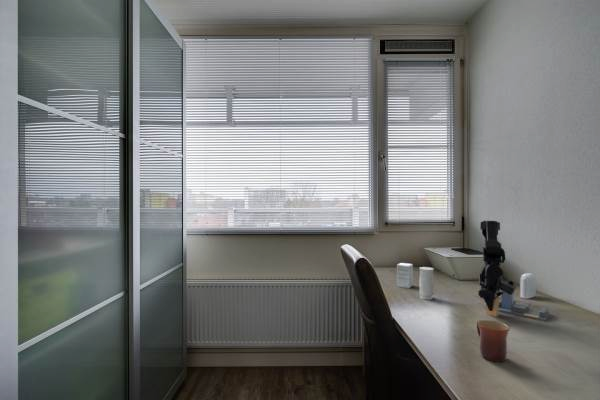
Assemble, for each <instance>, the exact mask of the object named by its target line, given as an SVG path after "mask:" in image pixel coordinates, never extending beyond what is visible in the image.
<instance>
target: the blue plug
mask: <svg viewBox="0 0 600 400" xmlns="http://www.w3.org/2000/svg"><path fill="white" fill-rule="evenodd" d="M500 292H503V294H502V295H500V296H501V298H500V299H501V308H504V309H509V310H512V306H513V305H514V304H515V303H514V301H515V300H514V299H515V292H514V293H513V294H512V295H509V294H507V293H506V292H504V291H502V290H500Z"/></svg>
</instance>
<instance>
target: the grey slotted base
mask: <svg viewBox="0 0 600 400" xmlns="http://www.w3.org/2000/svg"><path fill="white" fill-rule="evenodd" d="M499 313H504V314H508V315H513V316H517V317H522V318H526V319H532V320H536V321H540V322H547V320H548V319H549V318H550V316H551V312H549V307H547V306H543V307H542V309H540V310H538V309H532V308H530V303H527V302H526V303H525V302H521V301H517V302H515V303H514V305H513V306H512V310H509V309H504V308H501V298H499Z"/></svg>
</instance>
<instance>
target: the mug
mask: <svg viewBox="0 0 600 400" xmlns="http://www.w3.org/2000/svg"><path fill="white" fill-rule="evenodd" d="M476 331H477V334H478V337H479V350H480V355H481V356H482V357H483V358H484V359H487V360H488V361H491V360H492V361H491V362H496V361H501V362H503V361H505V360H506V359H507V355H508V344H507V343H508V334H509V331H510V326H508V324H505V323H503V322H500V321H496V320H490V319H489V320H487V319H485V320H484V319H483V320H482V319H479V320H477V323H476Z"/></svg>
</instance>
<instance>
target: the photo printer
mask: <svg viewBox="0 0 600 400" xmlns="http://www.w3.org/2000/svg"><path fill="white" fill-rule="evenodd" d="M536 283H537V277H536V275H535V274H533V273H531V272H526V273H523V274H522V275H521V276H520V278H519V297H520V298H521V299H525V300H526V299H532V298H534V297H536V295H537V294H536V293H537V292H536V291H537V289H536V288H537V284H536Z"/></svg>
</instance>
